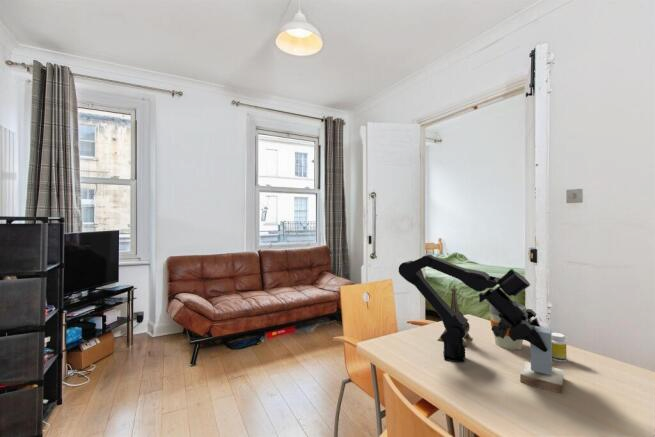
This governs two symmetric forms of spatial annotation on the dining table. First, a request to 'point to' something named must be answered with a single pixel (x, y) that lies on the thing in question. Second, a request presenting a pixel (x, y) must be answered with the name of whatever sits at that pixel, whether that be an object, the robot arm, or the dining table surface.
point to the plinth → (542, 378)
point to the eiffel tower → (455, 307)
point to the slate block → (542, 353)
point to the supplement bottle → (558, 347)
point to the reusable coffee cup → (507, 341)
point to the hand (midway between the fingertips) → (546, 348)
